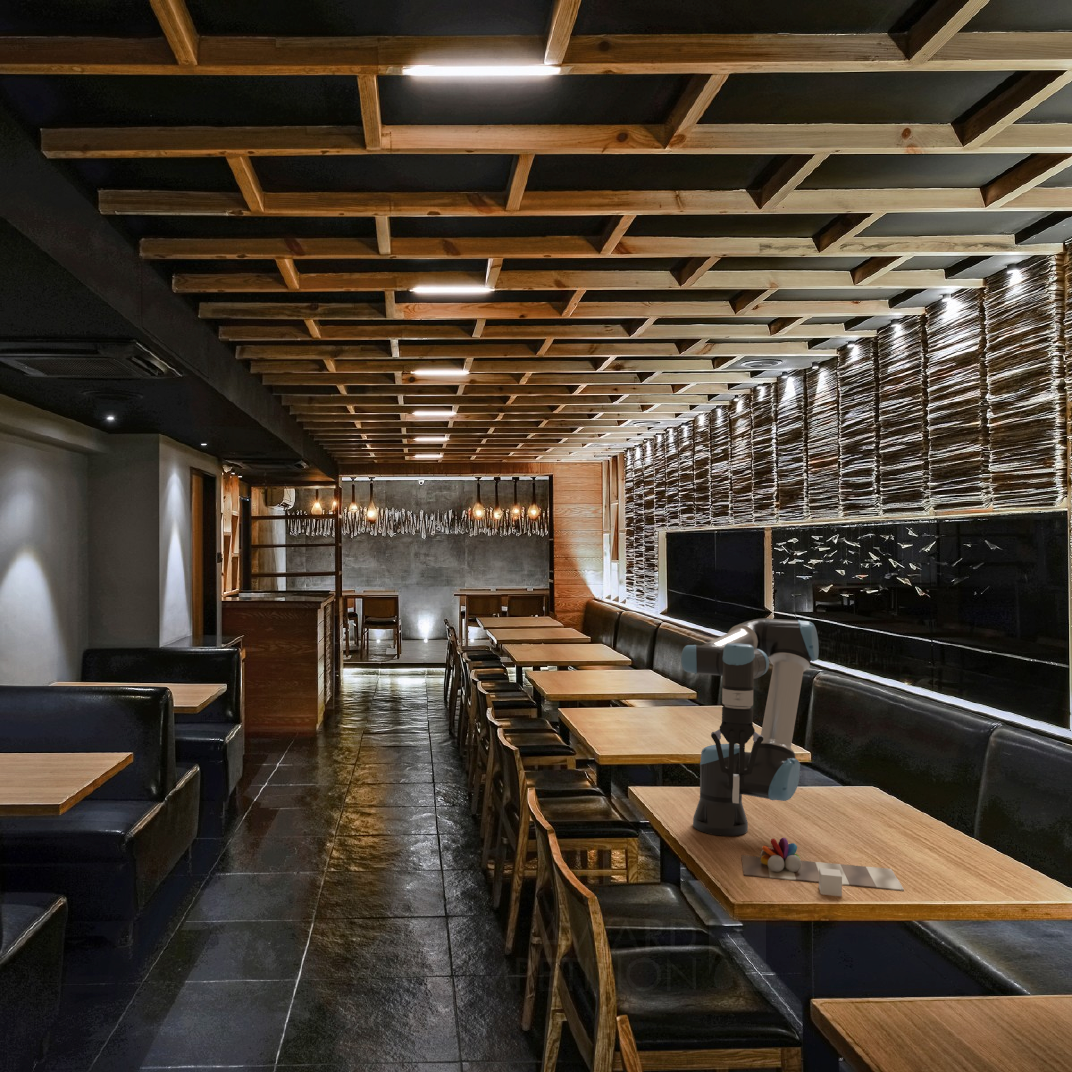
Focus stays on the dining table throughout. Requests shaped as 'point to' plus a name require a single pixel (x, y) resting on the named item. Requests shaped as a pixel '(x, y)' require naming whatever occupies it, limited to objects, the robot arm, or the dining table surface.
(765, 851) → the rainbow segmented toy
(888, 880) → the striped mat
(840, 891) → the cube
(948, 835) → the dining table surface
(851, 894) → the dining table surface
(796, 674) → the robot arm
